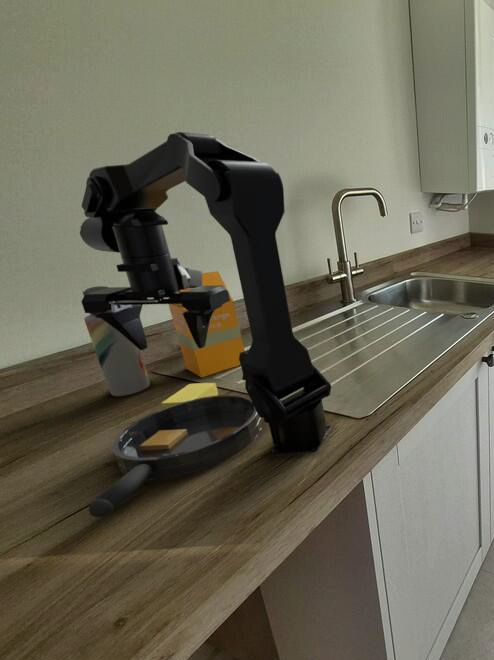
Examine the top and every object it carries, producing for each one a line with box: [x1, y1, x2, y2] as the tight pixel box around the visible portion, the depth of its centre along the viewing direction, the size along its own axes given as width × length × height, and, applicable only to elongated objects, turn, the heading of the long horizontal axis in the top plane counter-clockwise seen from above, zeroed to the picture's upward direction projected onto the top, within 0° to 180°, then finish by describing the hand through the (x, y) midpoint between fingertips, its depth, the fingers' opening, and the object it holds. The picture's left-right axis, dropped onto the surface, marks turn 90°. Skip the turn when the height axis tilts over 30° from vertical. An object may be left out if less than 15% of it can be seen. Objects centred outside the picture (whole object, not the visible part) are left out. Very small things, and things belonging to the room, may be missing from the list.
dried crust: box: [139, 429, 188, 450], centre depth 61 cm, size 4×4×1 cm
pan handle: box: [88, 464, 153, 518], centre depth 49 cm, size 2×8×2 cm, turn 4°
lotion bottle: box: [82, 285, 151, 397], centre depth 75 cm, size 6×6×20 cm
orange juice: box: [167, 270, 245, 378], centre depth 85 cm, size 8×9×20 cm
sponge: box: [160, 382, 219, 409], centre depth 71 cm, size 7×4×3 cm, turn 4°
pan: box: [111, 394, 263, 481], centre depth 61 cm, size 17×17×4 cm
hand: (173, 348), depth 68 cm, fingers open, 9 cm apart
